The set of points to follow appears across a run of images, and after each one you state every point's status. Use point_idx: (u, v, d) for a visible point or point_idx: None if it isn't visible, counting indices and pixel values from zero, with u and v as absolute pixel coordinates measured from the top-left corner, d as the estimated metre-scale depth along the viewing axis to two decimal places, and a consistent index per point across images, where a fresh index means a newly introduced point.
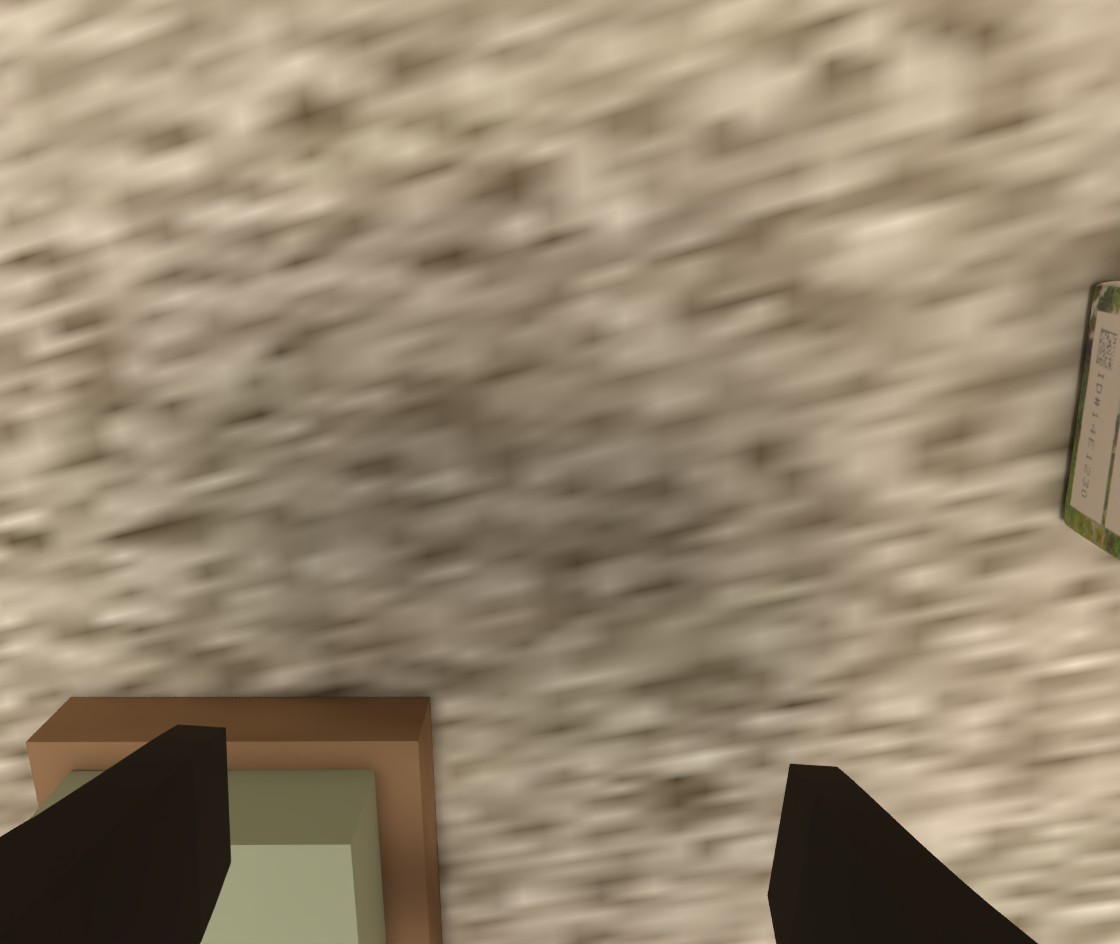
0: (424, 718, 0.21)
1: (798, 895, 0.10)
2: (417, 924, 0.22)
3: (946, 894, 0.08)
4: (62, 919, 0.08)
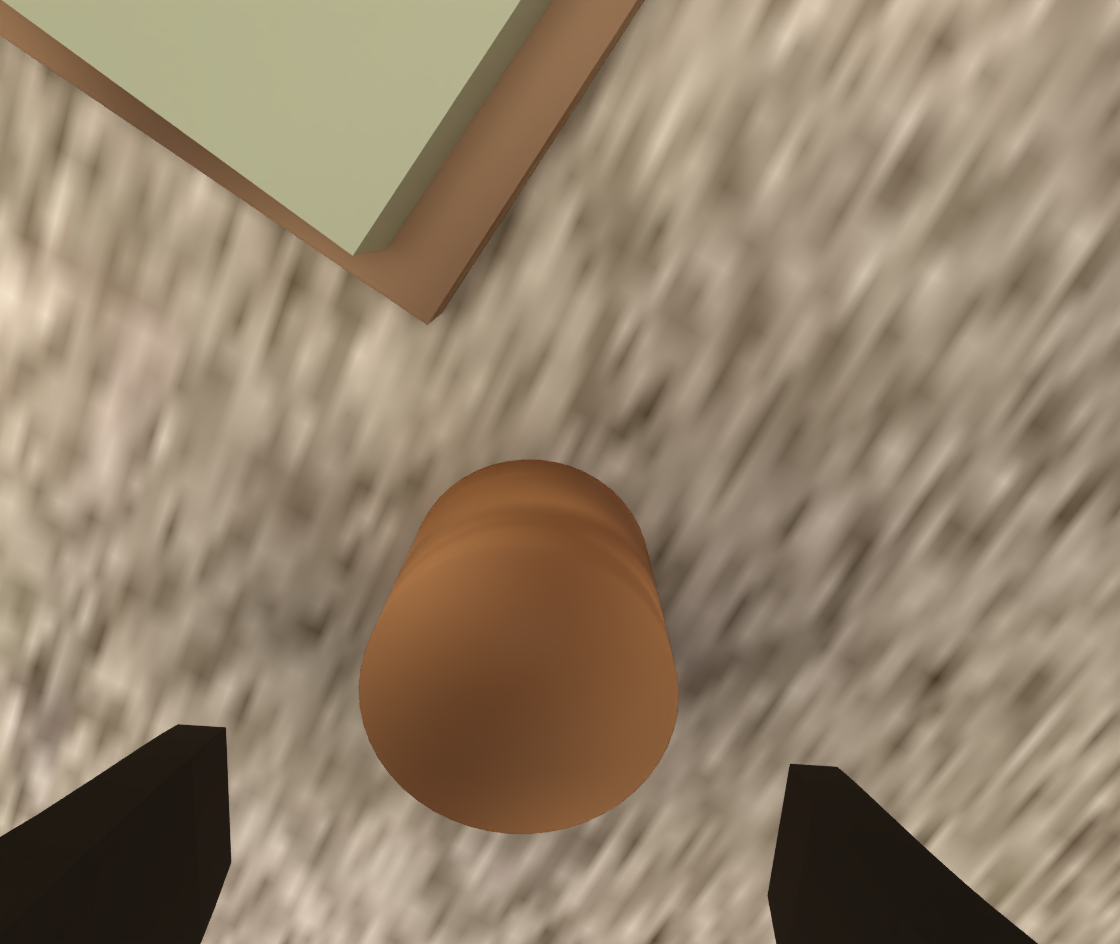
0: None
1: (798, 895, 0.10)
2: None
3: (946, 894, 0.08)
4: (62, 918, 0.08)
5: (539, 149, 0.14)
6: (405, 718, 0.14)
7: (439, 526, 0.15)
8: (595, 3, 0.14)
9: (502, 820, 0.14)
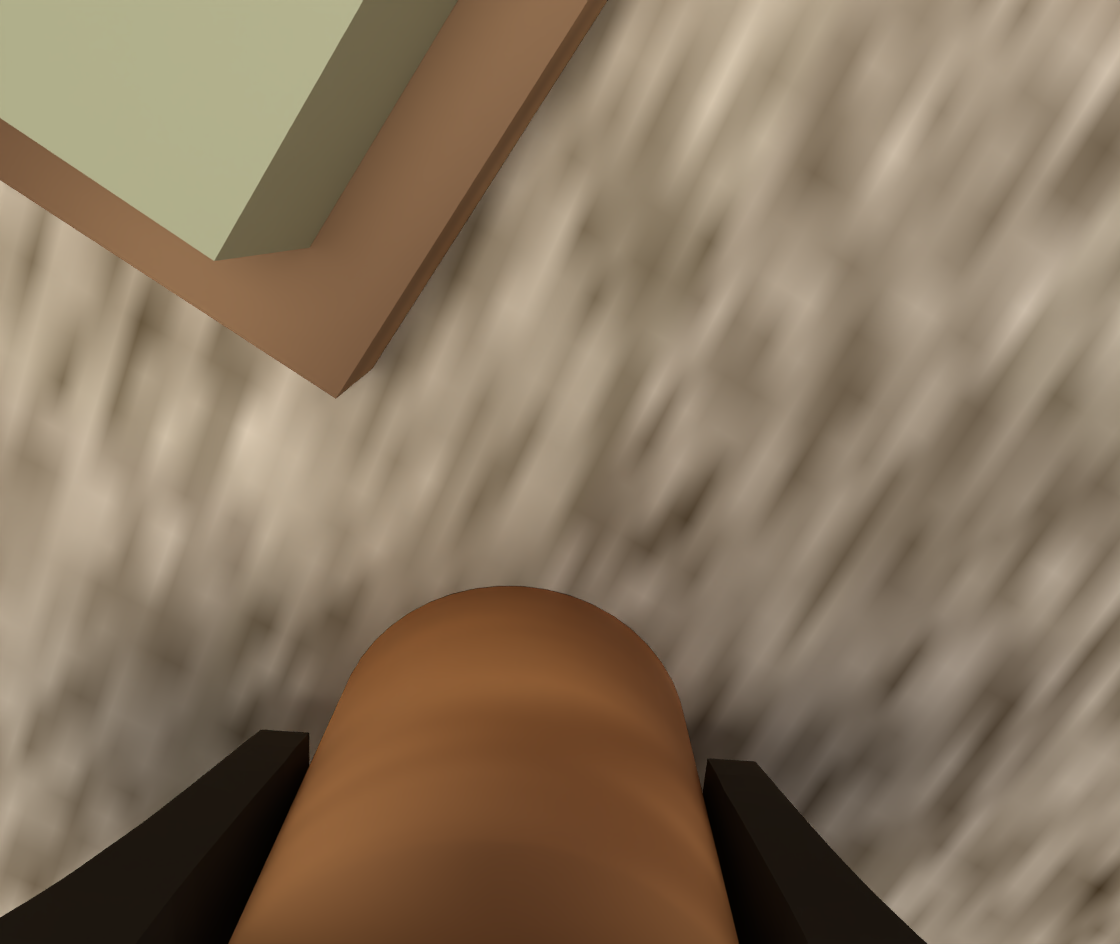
0: None
1: None
2: None
3: (836, 888, 0.08)
4: (181, 925, 0.08)
5: (517, 108, 0.08)
6: None
7: (357, 726, 0.10)
8: None
9: None
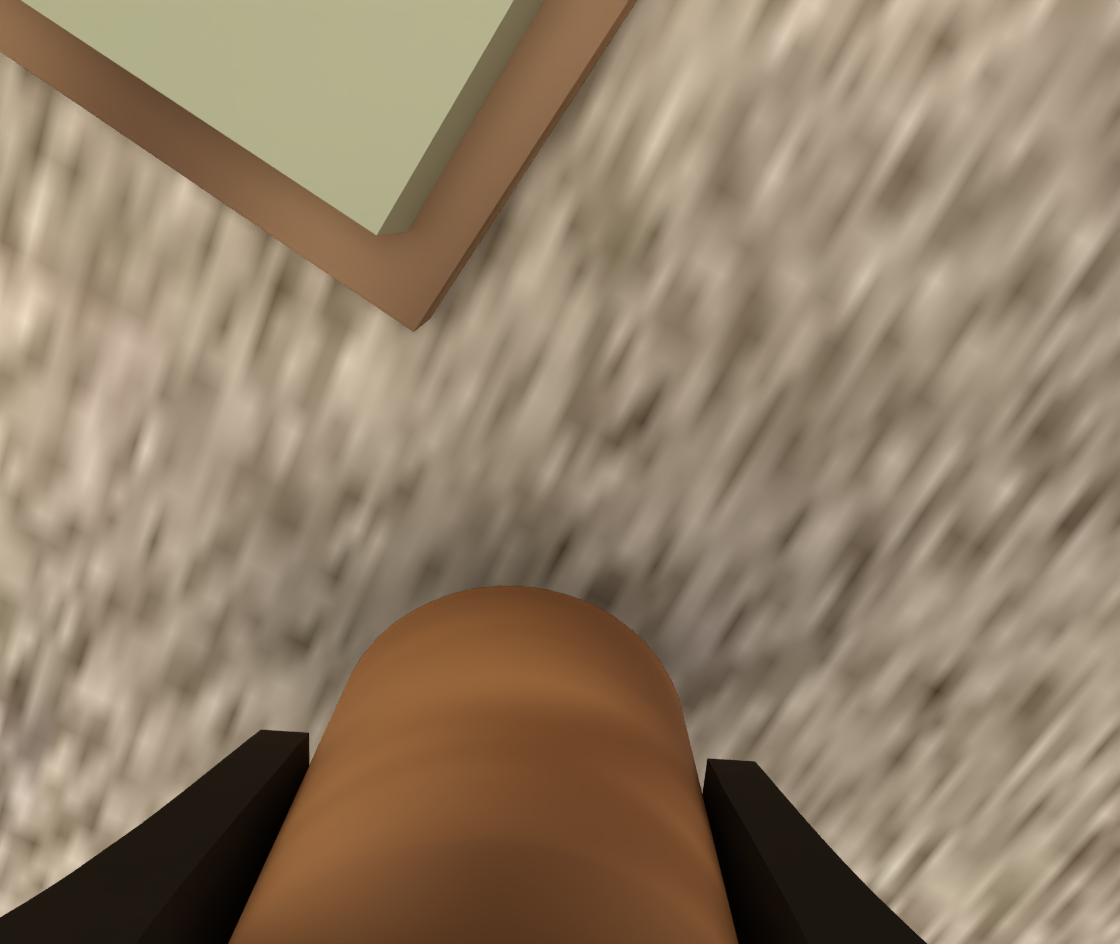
0: None
1: None
2: None
3: (836, 887, 0.08)
4: (181, 926, 0.08)
5: (528, 152, 0.14)
6: None
7: (357, 725, 0.10)
8: (586, 2, 0.13)
9: None
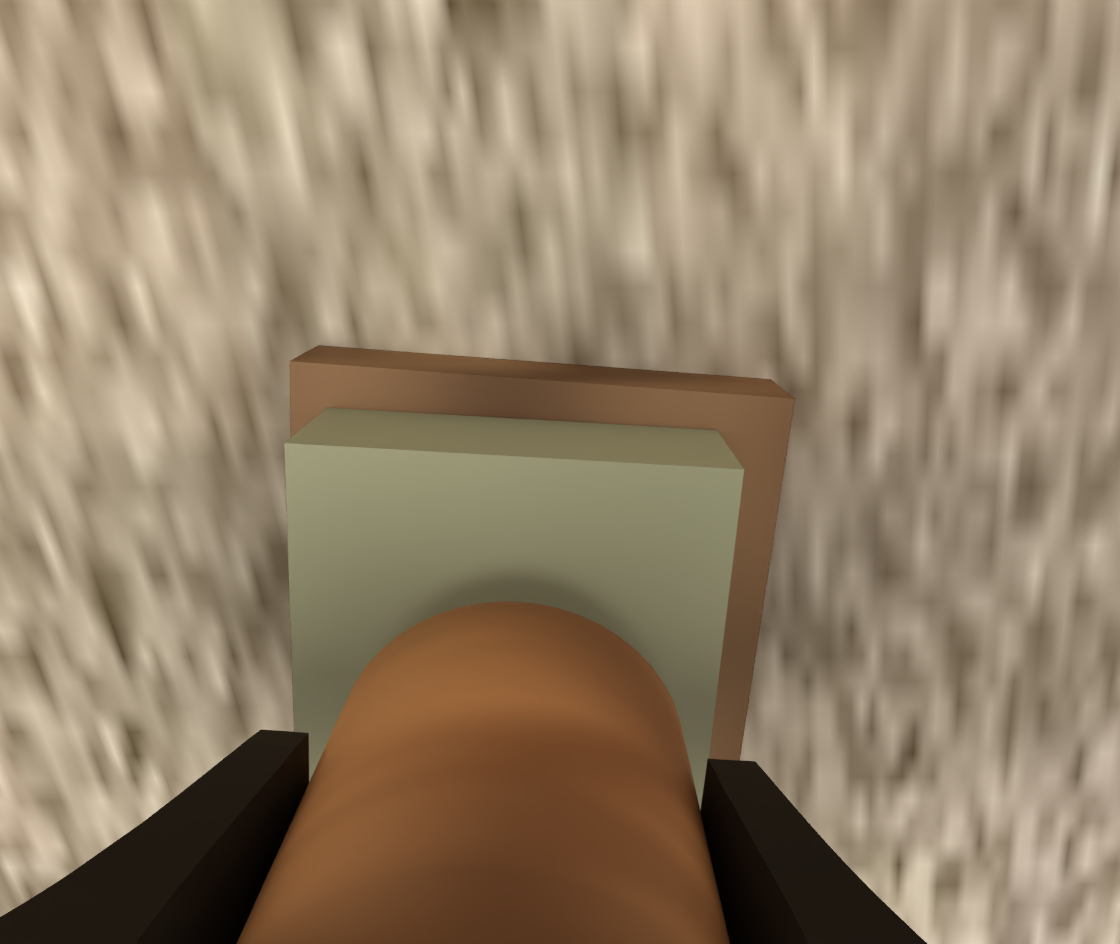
0: (307, 353, 0.16)
1: None
2: (579, 398, 0.16)
3: (836, 887, 0.08)
4: (181, 926, 0.08)
5: (752, 675, 0.17)
6: None
7: (344, 753, 0.10)
8: (742, 566, 0.17)
9: None
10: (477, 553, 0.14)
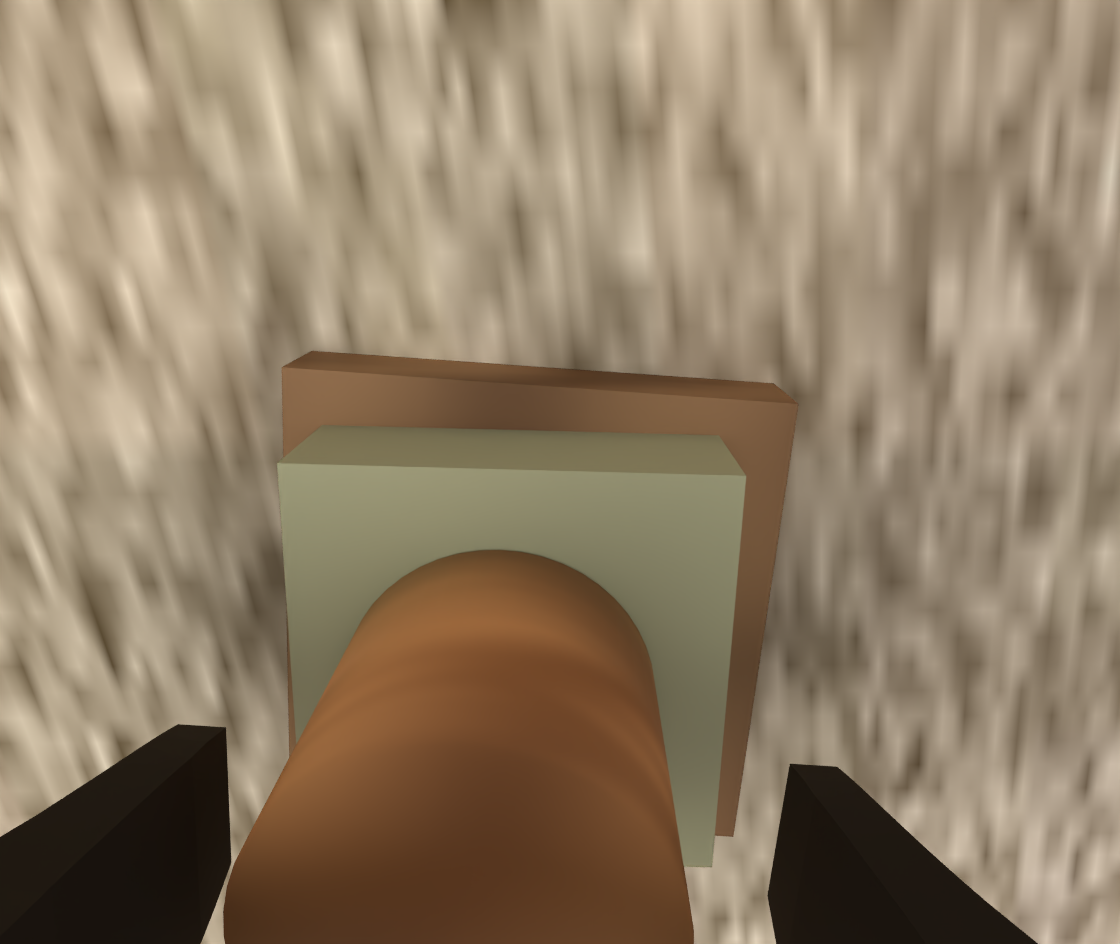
0: (300, 358, 0.16)
1: (798, 895, 0.10)
2: (578, 403, 0.15)
3: (946, 894, 0.08)
4: (63, 919, 0.08)
5: (755, 686, 0.17)
6: None
7: (352, 668, 0.11)
8: (745, 575, 0.16)
9: None
10: None
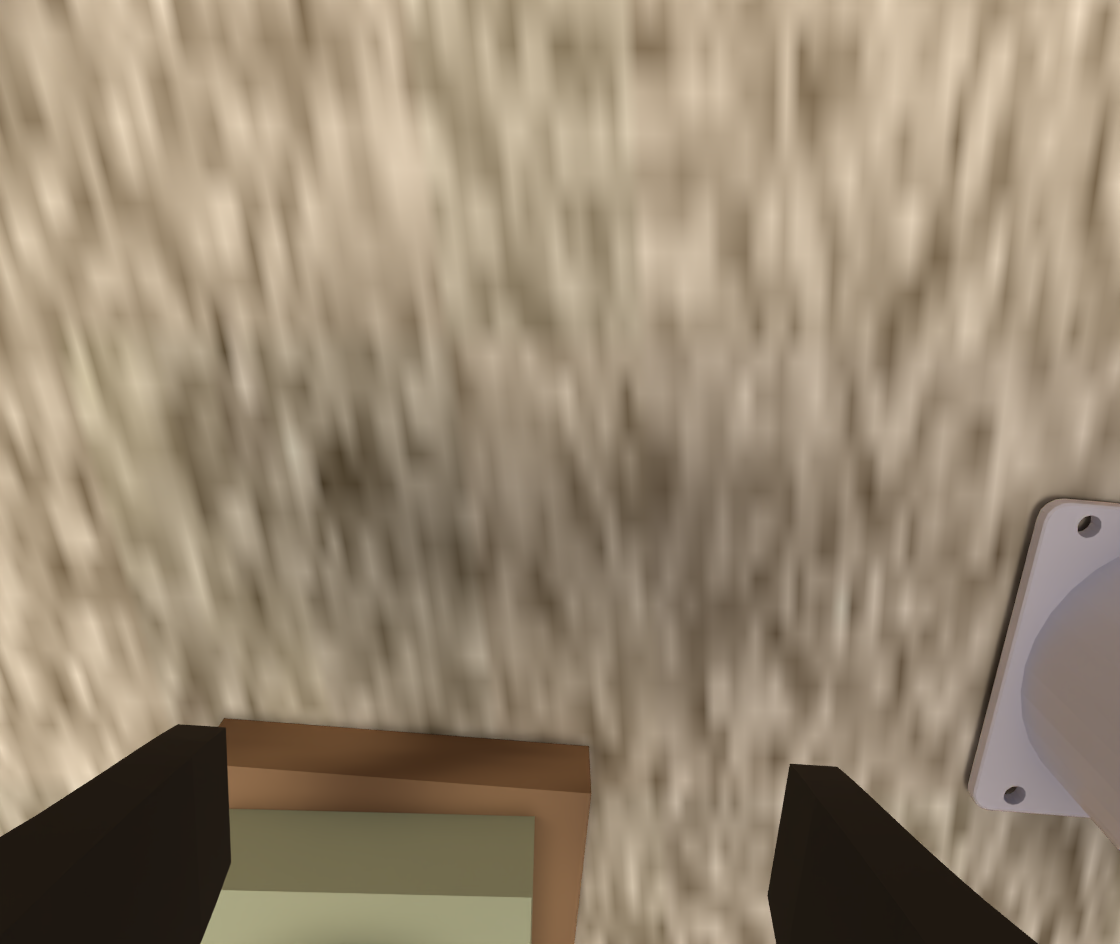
0: None
1: (798, 895, 0.10)
2: (422, 791, 0.20)
3: (946, 894, 0.08)
4: (62, 919, 0.08)
5: None
6: None
7: None
8: (557, 909, 0.21)
9: None
10: None
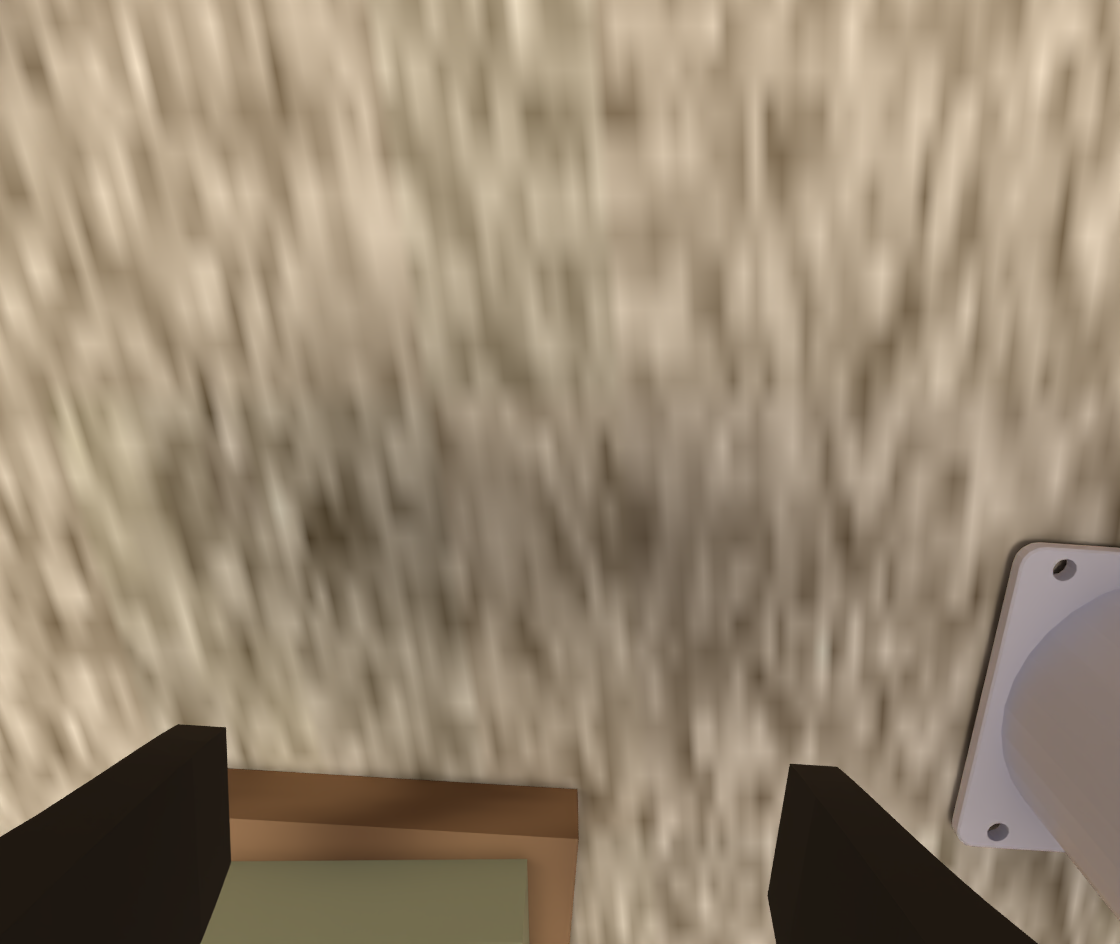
0: None
1: (798, 895, 0.10)
2: (413, 839, 0.20)
3: (946, 894, 0.08)
4: (62, 918, 0.08)
5: None
6: None
7: None
8: None
9: None
10: None
